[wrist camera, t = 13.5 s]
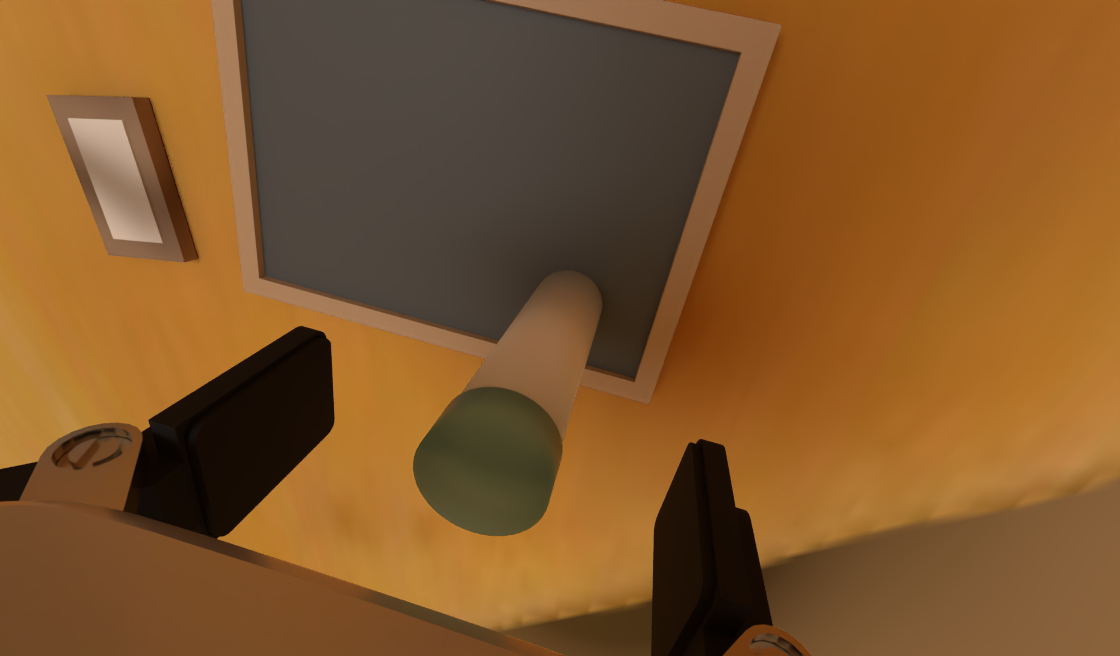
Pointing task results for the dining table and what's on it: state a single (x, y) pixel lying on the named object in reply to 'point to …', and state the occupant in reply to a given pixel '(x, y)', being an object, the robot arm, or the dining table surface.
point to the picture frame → (125, 175)
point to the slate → (485, 160)
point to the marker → (513, 415)
